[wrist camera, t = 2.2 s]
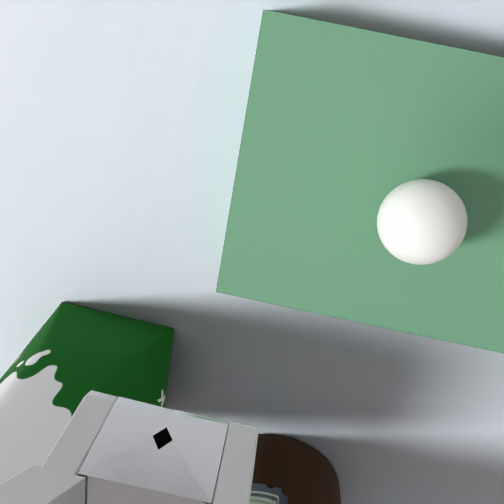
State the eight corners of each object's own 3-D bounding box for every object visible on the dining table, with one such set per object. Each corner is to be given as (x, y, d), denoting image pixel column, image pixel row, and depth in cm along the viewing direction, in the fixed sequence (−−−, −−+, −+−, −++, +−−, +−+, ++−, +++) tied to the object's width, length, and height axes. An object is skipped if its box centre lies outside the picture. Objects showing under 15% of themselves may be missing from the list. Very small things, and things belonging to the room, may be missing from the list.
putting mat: (225, 264, 27) (215, 291, 24) (269, 10, 21) (263, 9, 19) (614, 346, 27) (647, 384, 24) (770, 110, 21) (838, 124, 18)
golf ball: (386, 160, 21) (398, 187, 17) (466, 177, 20) (494, 207, 17) (363, 233, 22) (371, 269, 19) (438, 249, 22) (458, 288, 19)
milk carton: (48, 285, 29) (-366, 710, 11) (193, 320, 29) (3, 803, 11) (47, 391, 33) (-262, 829, 15) (174, 422, 33) (12, 898, 15)
